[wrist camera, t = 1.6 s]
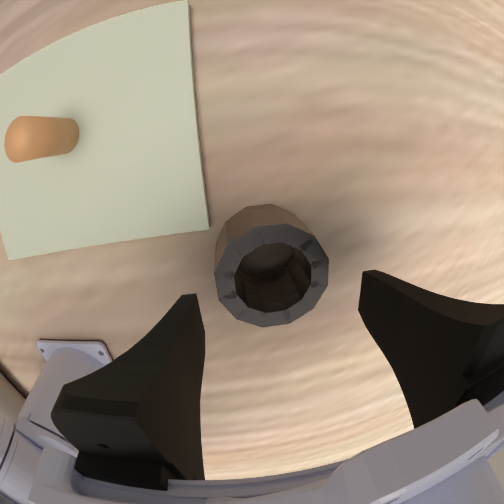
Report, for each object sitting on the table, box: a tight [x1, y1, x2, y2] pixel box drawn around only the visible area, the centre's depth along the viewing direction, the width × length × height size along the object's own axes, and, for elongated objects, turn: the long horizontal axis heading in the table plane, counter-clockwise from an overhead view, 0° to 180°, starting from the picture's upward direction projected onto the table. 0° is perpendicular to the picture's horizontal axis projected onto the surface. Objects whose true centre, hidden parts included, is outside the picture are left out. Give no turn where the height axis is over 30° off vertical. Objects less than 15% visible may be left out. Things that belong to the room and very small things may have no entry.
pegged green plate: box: [0, 0, 210, 260], centre depth 10 cm, size 14×16×6 cm
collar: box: [214, 204, 329, 327], centre depth 15 cm, size 6×6×4 cm
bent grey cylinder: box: [0, 372, 26, 421], centre depth 19 cm, size 18×10×20 cm
